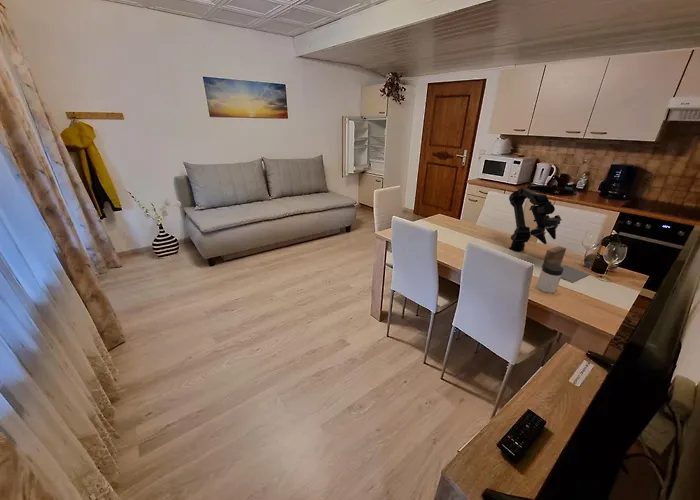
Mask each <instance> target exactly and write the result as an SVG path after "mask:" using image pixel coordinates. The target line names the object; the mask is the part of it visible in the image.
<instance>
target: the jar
mask: <svg viewBox="0 0 700 500" xmlns="http://www.w3.org/2000/svg"><path fill="white" fill-rule="evenodd" d="M560 266H561V265H560ZM560 266H558V265H556V264H551V263H546V264H544V265H543V268H541V270H540V272H539V276H538V279H537V282H536V285H535V287H536V288H537V289H539V290H540V291H542V292H543V293H544V292H545V293H549V294H554V293H555V292H556V291H557V289H558V287H559V285H560V281H561V279H562V278H561V276H562V273H563V268H562V267H560Z"/></svg>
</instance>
